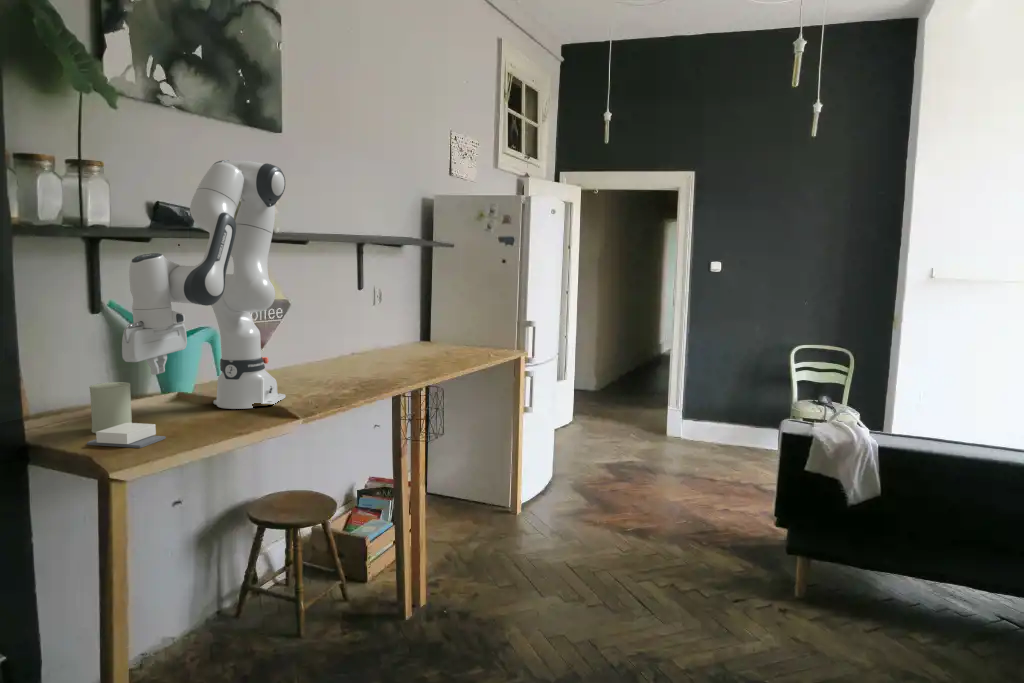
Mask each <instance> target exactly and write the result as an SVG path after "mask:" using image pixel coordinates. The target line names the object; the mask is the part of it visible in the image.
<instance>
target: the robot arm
mask: <svg viewBox="0 0 1024 683" xmlns="http://www.w3.org/2000/svg"><path fill="white" fill-rule="evenodd" d="M285 177H286V176H285V175H284V173H283V171H282V169H281V168H280V167H278V166H276V165H274V164H272V163H262V162H259V161H258V162H257V161H253V160H229V159H225V160H223V159H222V160H219V161H216V162H214V163H213V164H212V165H211V166H210V168H209V169H208V170H207V171H206V173H205V174H204V175H203V177H202V178H201V180H200V182H199V184H198V186H197V189H195V192H194V195H193V196H192V199H191V201H190V206H189V211H190V215H191V219H192V220H193V221H194V222H195V223H196V224H197V225H198V226H199V227H200V228H202V230H204V231H206V232H208V233H209V238H208V242H207V245H206V249H205V251H204V252H205V253H204V256H203V259H202V260H201V262H200V263H198V264H196V265H181V264H178V263H175V262H174V261H171V260H169V259H168V258H166V257H165V256H164V254H163V253H160V252H156V253H155V252H154V253H144V254H140V255H137V256H135V257H134V258H132V259H131V261H130V263H129V271H128V272H129V274H128V276H129V290H130V291H129V292H130V294H131V296H132V304H131V305H132V306H131V307H132V308H131V309H132V320H133V323H131V322H130V323H127V325H126V326H125V328H124V330H123V334H122V338H121V339H122V340H121V355H122V360H123V361H124V362H126V363H138V362H142V361H143V362H144V361H146V364H147V365H148V366H149V367H150V370H151V371H150V373H151V374H152V375H160V374H163V373H165V372H166V369H165V368H166V363H167V360H168V355H169V354H173V353H176V352H180V351H183V350H185V349H186V348H187V346H188V339H187V335H188V334H187V328H186V324H185V322H186V314H184V313H182V312H179V311H176V310H172V309H173V308H172V303H180V304H194V305H201V306H211V309H212V310H213V312H214V315H215V319H216V322H217V324H218V329H219V334H220V349H221V350H220V352H221V353H220V354H221V358H220V360H219V367H220V369H219V370H220V372H221V373H220V375H219V376H218V377H217V387H216V388H217V389H216V399H213V404H214V405H216V407H218V408H221V409H229V410H230V409H231V410H236V409H237V410H238V409H239V410H240V409H241V410H242V409H243V410H244V409H245V410H246V409H254V408H253V406H252V404H254V403H261V404H274V405H276V404H278V403H279V402H280V400H281V401H282V400H284V399H285V398H286V394H285V393H278V383H277V380H276V378H274V377H273V376H272V375H271V374H270V373H269V372H268V371H267V370H266V366H265V364H266V365H267V364H268V363H269V357H268V356H265V357H264V356H262V345H261V344H262V342H261V340H262V339H261V331H260V329H259V328H258V327H257V326H256V323H254V320H253V317H252V314H253V313H259V312H262V311H266V310H268V309H269V308H271V307H272V305H273V304H274V302H275V299H276V289H275V287H274V285H273V283H272V282H271V279H270V276H269V266H268V265H269V264H268V263H269V262H268V260H269V254H270V248H271V243H272V239H273V232H274V228H275V222H276V221H275V220H276V219H275V218H276V204H277V202H278V201H279V200H280V199H281V197H282V196H283V194H284V192H285V189H286V178H285ZM239 204H240V206H239ZM238 206H239V208H238ZM237 209H238V211H237ZM236 211H237V214H236ZM235 215H236V216H235ZM230 257H232V261H233V274H232V273H227V270H228V267H229V266H228V265H229V263H230V262H229V261H230ZM278 401H279V402H278ZM277 402H278V403H277ZM275 403H276V404H275Z"/></svg>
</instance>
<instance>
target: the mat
mask: <svg viewBox="0 0 1024 683" xmlns="http://www.w3.org/2000/svg"><path fill="white" fill-rule="evenodd" d="M163 440H166V436H165V435H153V436H150V437H147V438H144V439H141V440H138V441H136V442H133V443H130V444H113V443H97V438H96V439H92V440H89V441H87V442H86V445H87V446H104V447H115V448H116V447H118V448H119V447H121V448H134V449H135V448H136V449H141V448H144V447H147V446H151V445H153V444H155V443H158V442H161V441H163Z"/></svg>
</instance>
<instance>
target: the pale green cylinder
mask: <svg viewBox="0 0 1024 683" xmlns="http://www.w3.org/2000/svg"><path fill="white" fill-rule="evenodd" d="M89 394H90V413H91V433H92V434H96V432H98V431H101V430H104V429H107V428H111V427H114V426H117V425H120V424H124V423H133V421H132V420H133V419H132V418H133V417H132V401H131V400H132V397H131V383H130V382H123V381H121V382H118V381H115V382H111V381H110V382H103V383H96V384H91V385H89Z"/></svg>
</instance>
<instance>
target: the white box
mask: <svg viewBox="0 0 1024 683" xmlns="http://www.w3.org/2000/svg"><path fill="white" fill-rule="evenodd" d="M156 435H157V429H156V424H155V423H141V422H139V423H138V422H132V423H124V424H120V425H117V426H114V427H111V428H107V429H104V430H101V431H98V432H96V433H95V436H96V439H97V443H113V444H130V443H133V442H136V441H138V440H141V439H144V438H147V437H150V436H156Z"/></svg>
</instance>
